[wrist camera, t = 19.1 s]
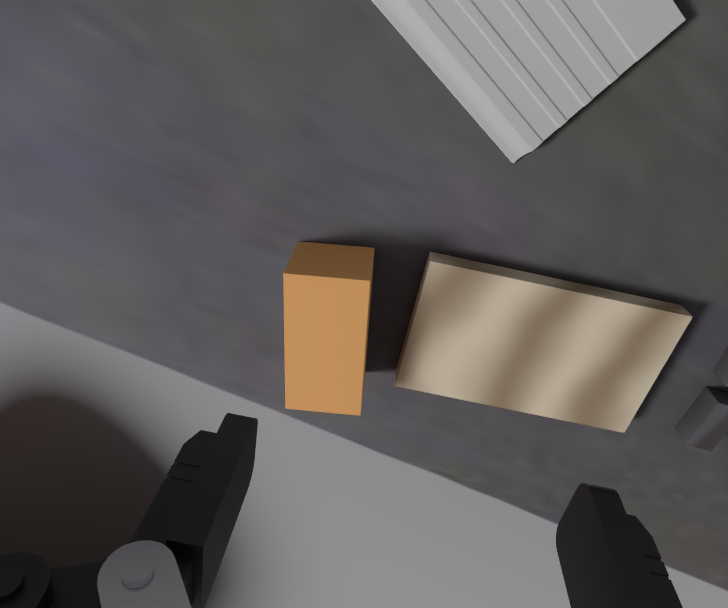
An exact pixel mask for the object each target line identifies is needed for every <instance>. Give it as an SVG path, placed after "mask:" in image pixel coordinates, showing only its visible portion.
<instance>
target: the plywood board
mask: <svg viewBox="0 0 728 608" xmlns="http://www.w3.org/2000/svg"><path fill="white" fill-rule="evenodd" d="M691 319H692V316H691V314H690V313H689V312H688V311H687V310H686V309H685V308H684V307H683V306H682V305H678V304H674V303H669V302H664V301H660V300H655V299H650V298H646V297H641V296H636V295H632V294H627V293H622V292H618V291H613V290H608V289H603V288H599V287H594V286H589V285H585V284H580V283H575V282H571V281H566V280H561V279H557V278H552V277H547V276H543V275H538V274H533V273H528V272H524V271H519V270H514V269H510V268H505V267H500V266H496V265H491V264H486V263H482V262H477V261H472V260H467V259H463V258H458V257H453V256H449V255H444V254H439V253H435V252H429V255H428V259H427V263H426V266H425V270H424V273H423V277H422V280H421V284H420V287H419V291H418V294H417V298H416V301H415V305H414V308H413V312H412V315H411V319H410V323H409V326H408V330H407V333H406V337H405V340H404V344H403V347H402V351H401V354H400V358H399V361H398V365H397V368H396V372H395V386H398V387H402V388H407V389H412V390H417V391H422V392H427V393H432V394H437V395H442V396H446V397H451V398H456V399H461V400H466V401H471V402H476V403H481V404H486V405H491V406H495V407H500V408H505V409H510V410H515V411H520V412H525V413H530V414H535V415H540V416H544V417H549V418H554V419H559V420H564V421H569V422H574V423H579V424H584V425H588V426H593V427H598V428H603V429H608V430H613V431H618V432H623V433H624V432H625V431H626V429H627V427H628V426H629V424H630V422H631V421H632V419H633V417H634V415H635V414H636V412H637V410H638V409H639V407H640V405H641V404H642V402H643V400H644V399H645V397H646V395H647V393H648V392H649V390H650V388H651V387H652V385H653V383H654V382H655V380H656V378H657V377H658V375H659V373H660V371H661V370H662V368H663V366H664V365H665V363H666V361H667V360H668V358H669V356H670V355H671V353H672V351H673V349H674V348H675V346H676V344H677V343H678V341H679V339H680V338H681V336H682V334H683V332H684V331H685V329H686V327H687V326H688V324H689V322H690V321H691Z"/></svg>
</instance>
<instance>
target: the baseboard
mask: <svg viewBox="0 0 728 608" xmlns="http://www.w3.org/2000/svg"><path fill="white" fill-rule="evenodd" d="M372 2H373V3H374V4H375V5H376V6H377V7H378V9H379V10H380V11H381V12H382V13H383V14H384V15H385V17H386V18H387V19H388V20H389V21H390V22H391V23H392V25H393V26H394V27H395V28H396V29H397V30H398V32H399V33H400V34H401V35H402V36H403V37H404V38H405V40H406V41H407V42H408V43H409V44H410V45H411V47H412V48H413V49H414V50H415V51H416V52H417V53H418V55H419V56H420V57H421V58H422V59H423V60H424V62H425V63H426V64H427V65H428V66H429V67H430V68H431V70H432V71H433V72H434V73H435V74H436V75H437V77H438V78H439V79H440V80H441V81H442V82H443V83H444V85H445V86H446V87H447V88H448V89H449V90H450V92H451V93H452V94H453V95H454V96H455V97H456V98H457V100H458V101H459V102H460V103H461V104H462V105H463V107H464V108H465V109H466V110H467V111H468V112H469V113H470V115H471V116H472V117H473V118H474V119H475V120H476V122H477V123H478V124H479V125H480V126H481V127H482V128H483V130H484V131H485V132H486V133H487V134H488V135H489V137H490V138H491V139H492V140H493V141H494V142H495V143H496V145H497V146H498V147H499V148H500V149H501V150H502V151H503V153H504V154H505V155H506V156H507V157H508V158H509V160H510V161H511V162H512V163H514V162H515V161H517V160H518V159H519V158H520V157H522V156H523V155H525V154H527V153H529V152H531V151H533V150H534V149H535V148H537V147H538V146H539V145H540V144H541V143H542V142H543V141H544V140H545V139H546V138H547V137H549V136H550V135H551V134H552V133H553V132H555V131H556V130H557V129H558V128H560V127H561V126H562V125H563V124H565V123H566V122H567V121H568V120H569V119H570V118H571V117H572V116H573V115H574V114H576V113H577V112H578V111H579V110H580V109H581V108H583V107H584V106H586V105H587V104H588V103H589V102H590V101H591V100H592V99H593V98H594V97H595V96H597V95H598V94H599V93H600V92H601V91H602V90H604V89H605V88H606V87H607V86H608V85H610V84H611V83H613V82H614V81H615V80H616V79H617V78H618V77H619V76H620V75H621V74H622V73H623V72H625V71H626V70H627V69H628V68H629V67H630V66H632V65H633V64H634V63H635V62H636V61H638V60H639V59H641V58H642V57H643V56H644V55H645V54H646V53H648V52H649V51H650V50H651V49H652V48H653V47H655V46H656V45H657V44H658V43H659V42H660V41H662V40H663V39H664V38H665V37H666V36H667V35H669V34H670V33H671V32H672V31H673V30H674V29H676V28H677V27H678V26H679V25H680V24H681V23H683V22H684V21H685V20H686V19H685V18H684V16H683V15H682V13H681V12H680V10H679V9H678V7H677V6H676V4H675V3H674V1H673V0H372Z"/></svg>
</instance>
